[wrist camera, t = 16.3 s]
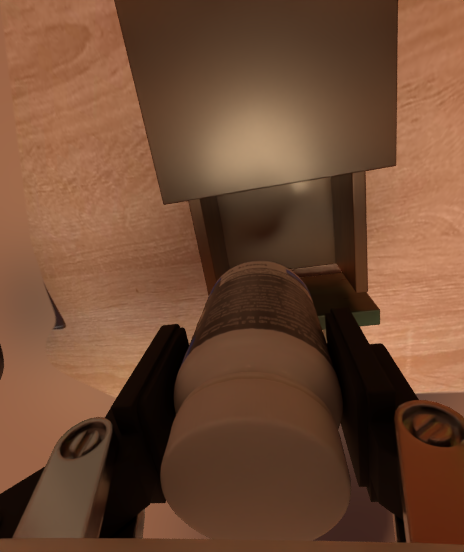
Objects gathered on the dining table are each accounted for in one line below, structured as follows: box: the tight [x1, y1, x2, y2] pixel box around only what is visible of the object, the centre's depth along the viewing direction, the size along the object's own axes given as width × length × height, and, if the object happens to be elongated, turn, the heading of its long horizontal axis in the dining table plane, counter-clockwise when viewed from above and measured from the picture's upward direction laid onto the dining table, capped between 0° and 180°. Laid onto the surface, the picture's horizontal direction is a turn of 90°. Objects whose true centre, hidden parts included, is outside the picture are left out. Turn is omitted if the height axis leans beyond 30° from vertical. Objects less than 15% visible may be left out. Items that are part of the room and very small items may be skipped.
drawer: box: [188, 171, 380, 343], centre depth 25 cm, size 19×12×8 cm, turn 10°
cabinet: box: [114, 0, 398, 205], centre depth 20 cm, size 15×14×10 cm
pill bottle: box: [160, 261, 351, 541], centre depth 10 cm, size 5×5×8 cm
